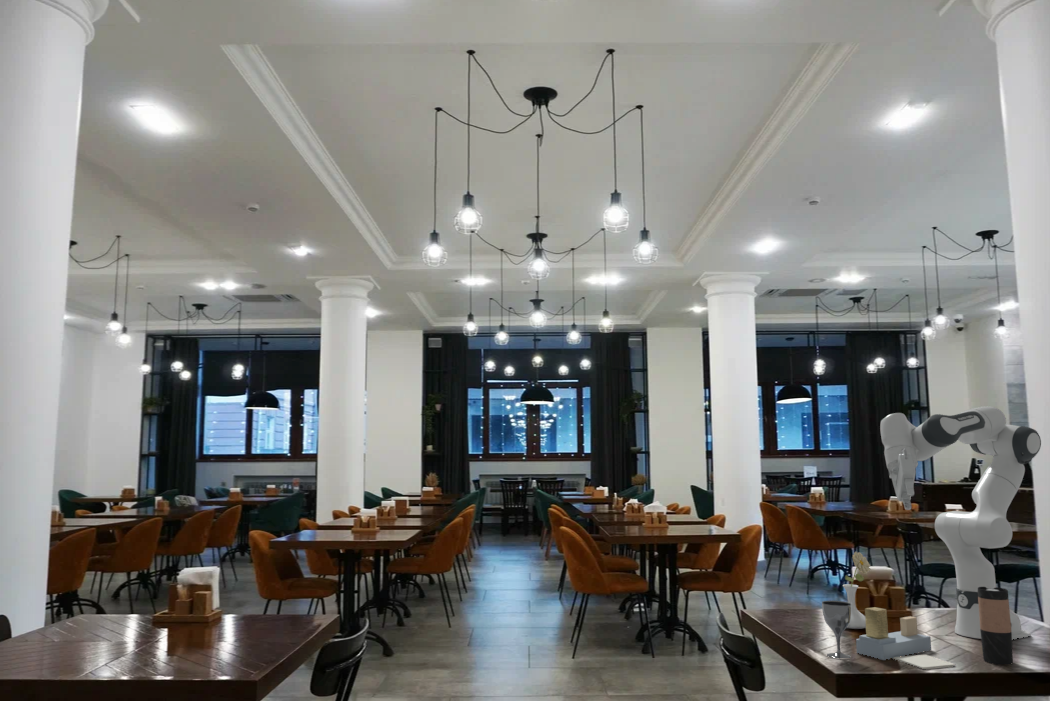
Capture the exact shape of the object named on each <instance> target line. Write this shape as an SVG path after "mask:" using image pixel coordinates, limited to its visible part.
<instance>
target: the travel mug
mask: <svg viewBox="0 0 1050 701" xmlns="http://www.w3.org/2000/svg"><path fill="white" fill-rule="evenodd" d="M978 603H979V618H980V632H981V639H980V640H981V648H982V657H983V658H982V659H983V661H984V662H985V663H988V662H989V664H992V663H994V664H993V665H998V664H1011V663H1014V660H1013V659H1014V657H1013V655H1014V654H1013V640H1012V632H1011V620H1010V610H1011V609H1010V599H1009V590H1008V589H1006V588H1003V587H998V586H996V587H995V588H994V589H988V588H986V587H978ZM1011 665H1012V664H1011Z"/></svg>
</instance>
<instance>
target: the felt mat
mask: <svg viewBox="0 0 1050 701" xmlns="http://www.w3.org/2000/svg"><path fill="white" fill-rule="evenodd" d="M892 659H893V660H894V659H895V660H894V661H896V660H898V661H897V662H899V661H900V662H899V663H902V662H904V663H903V664H905V663H907V664H906V665H908V664H910V665H909V666H911V665H913V666H912V667H914V666H917V667H919V668H922V669H926V670H934V669H944V668H945V669H946V668H954V667H953V666H956V663H952V662H950V661H946V660H943V659H940V658H937V657H935V656H932V655H929V654H924V653H923V654H917V655H916V654H912V655H907V656H902V657H893V658H892ZM917 667H916V668H917ZM919 668H918V669H919ZM922 669H921V670H922Z"/></svg>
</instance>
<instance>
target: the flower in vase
mask: <svg viewBox="0 0 1050 701" xmlns="http://www.w3.org/2000/svg"><path fill="white" fill-rule="evenodd" d="M851 558H852V562H853V563H854V566H855V570H854V574H853V577H850V576H848V575H847V574H846V575H845V576H844V578H845V580H846V581H849V582H851V583H850V584H849V583H848V584H847V583H846V584H843V585H842V587H843V588H844V589H845V592H846V597H847V602H848V603H851V619H850V623H849V625H848V626H847V628H846V629H854V630H859V629H866V620H865V614H863V613H861V612H860V610H858V608H857V606H856V593H857V589H858V588H859V585H857V584H854V580H855V579H856V581H858V582H862V581H864V580H865V577H864V576H863V575H862V574H865V575H868V574H869V572H871V568H870V567H871V564H870V563H869V561H868V560H867V557H866V556H864V554H862V553H861V552H859V551H855V552H853V554H852V557H851ZM857 571H859V573H857ZM860 572H861V573H862V574H860Z"/></svg>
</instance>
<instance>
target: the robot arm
mask: <svg viewBox="0 0 1050 701" xmlns="http://www.w3.org/2000/svg"><path fill="white" fill-rule="evenodd" d="M1006 419H1007V418H1006V415H1005V414H1004V412H1003V411H1002V410H1001V409H999V408H998V407H995V406H990V405H989V406H987V405H986V406H979V407H972V408H970V409H966V410H964V411H962V412H959V413H957V414H954V415H947V414H940V413H939V414H932V415H931V416H929V417H928V418H926V420H925V421H923V422H922V423H921V424H920V425H918V426H915V425H914V424H912V423H911V422H910V421H909V420H908V418H907V416H906V415H905V414H904V413H902V412H895V413H894V412H893V413H890V414H888V415H886V416H885V417H884V418H882V419H881V420H880V426H879V427H880V428H879V429H880V436H881V437H880V438H881V443H882V445H883V447H884V451H883V453H884V454H883V455H884V459H885V464H886V468H887V470H888V476H889V479H891V481H892V485H893V488H894V493H895V497H896V499H897V500H898V501H899V502H902V504H903V507H904V509H905V510H906V511H909V510H910V511H911V510H912V507H913V506H912V502H911V499H912V498H911V497H914V496H915V489H914V488H915V487H914V484H915V478H916V474H917V473H916V468H917V467H918V465H919V462H925V461H926V460H928V459H930V458H932V457H933V456H935V455H936V454H938V453H939V452H941V451H943V450H944V449H945V448H947V447H949V446H951V445H953V444H955V443H957V441H959V442H960V443H962V444H964V445H969V446H970V448H971V450H973V451H974V452H976V453H977V454H981V455H985V456H986V455H988V456H993V457H992V462H991V463H990V464H989V465H988V466H987V468H986V469H985V471H983V474H981V476H980V477H979V478H980V479H979V480H978V482H977V483H976V485H975V486H974V488H973V490H972V492H971V498H972V501H973V503H974V504H976V505H975V506H976V507H975V509H974V510H973V511H959V510H952V511H946V512H941V513H939V514H938V515H937V517H936V518H935V520H934V531H935V533H936V535H937V536H938V538H940V539H941V540H942V542H943V543H945V545H946V547H947V549H948V551H949V553H950V556H951V558H952V560H953V562H954V568H955V577H956V588H955V597H956V598H955V599H956V600H957V604H956V619H955V620H956V622H955V625H954V633H955V634H957V635H959V636H963V637H968V638H973V639H980V640H981V632H980V618H979V603H978V587H986V588H988V589H994V588H995V587H997V583H996V573H995V571H996V569H995V566H994V565H993V564H992V562H990V561H989V560H988V559H987V558H986V557H985V556H984V554H983V553H982V550H981V548H982V549H999V548H1004V547H1007V546H1008V545H1009V544H1010V543H1011V541H1012V538H1013V528H1012V526H1011V524H1010V522H1009V520H1008V519H1007V511H1008V509H1009V507H1010V505H1011V503H1012V501H1013V499H1014V498H1015V496H1016V495H1017V493H1018V490H1019V489H1020V487H1021V484H1022V482H1023V478H1024V476H1025V472H1026V467H1025V465H1027V464H1029V463H1030V462H1031V461H1032V460H1033V459H1034V458H1035V457H1036V456H1037V455H1038V454H1039V452H1040V449H1041V446H1042V440H1041V436H1040V435H1039V434H1040V433H1039V432H1038V431H1037V430H1036V429H1034V428H1031V427H1029V426H1025V425H1023V426H1022V425H1015V424H1007V420H1006ZM1010 620H1011V632H1012V641H1013V639H1014V640H1018V639H1017V638H1019V639H1023V637H1024V638H1029V637H1028V636H1030V637H1031V636H1032V635H1031V632H1030V631H1027V630H1024V629H1022V624H1021V620H1020V617H1019V616H1018V614H1017V613H1015V612H1014V611H1013V610H1011V609H1010Z"/></svg>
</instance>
